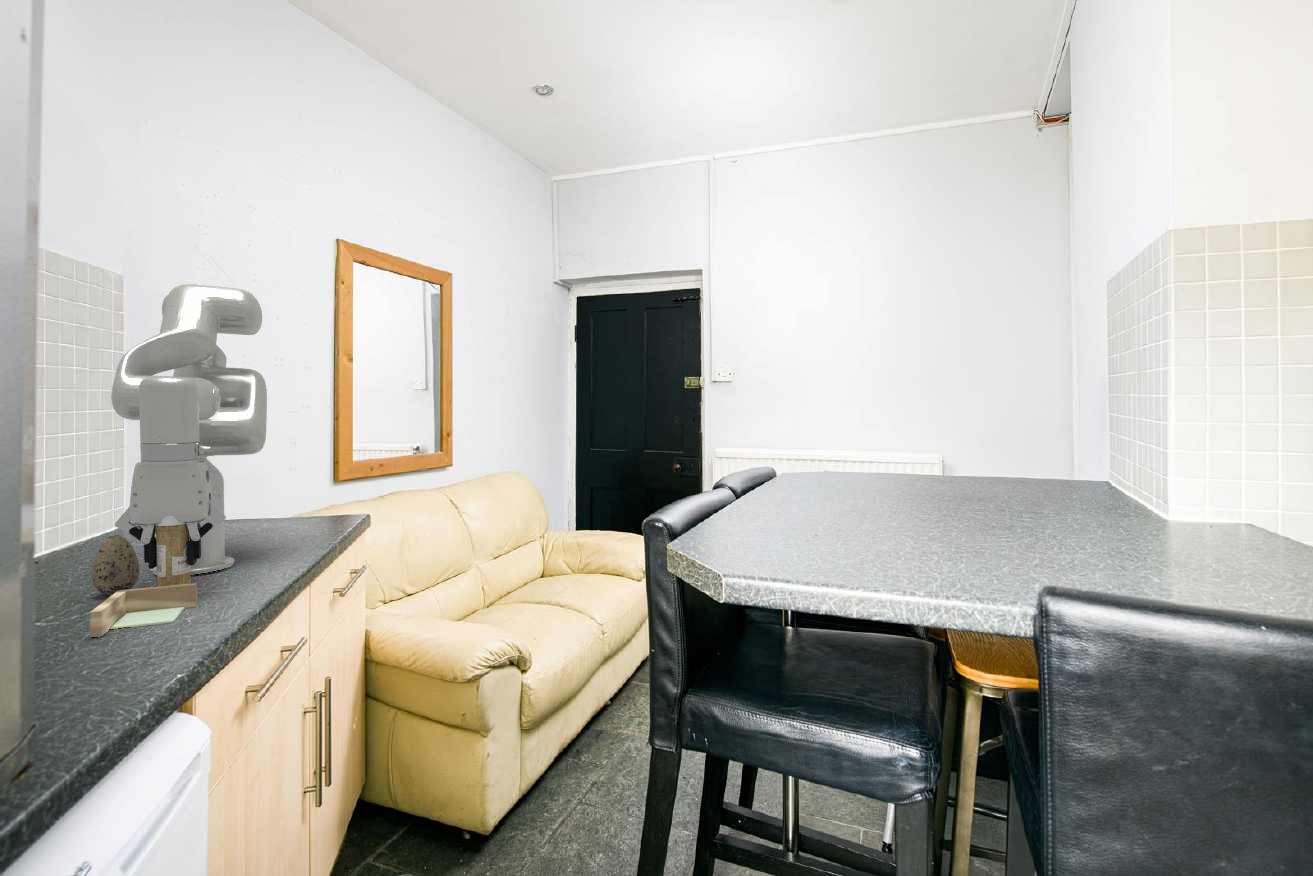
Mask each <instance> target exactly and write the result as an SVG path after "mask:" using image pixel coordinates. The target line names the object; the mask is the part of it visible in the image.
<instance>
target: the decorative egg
mask: <svg viewBox="0 0 1313 876" xmlns="http://www.w3.org/2000/svg"><path fill="white" fill-rule="evenodd" d="M90 575H91V581H92V584H93V586H94V588H95V589H96V590H97V591H99V592H100V593H102V594H104V595H106V596H112V595H113V594H114V593H115V592H117V591H118V590H128V589H133V587H134V586H135V585H136V583H137V581H138V579H139V577H140V564H139V559H138V556H137V554H136V551H135V550H134V547H133V546H132V544H131V543H130V542H129V541H128V539H126V538H125V537H124V536H122V535H119V534H117V535H116V534H114V535H110V536H109V537H107V538H106V539H105V540H103V542H102V543H101V544H100V546H99V547H98V549H97V551H96V554H95V556H94V558H93V562H92V566H91V574H90Z"/></svg>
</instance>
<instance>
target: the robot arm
mask: <svg viewBox="0 0 1313 876" xmlns="http://www.w3.org/2000/svg"><path fill="white" fill-rule="evenodd" d="M261 307H262V306H261V304H260V302H259V300H258V299H257V297H255V296H254V294H253V293H251V292H249V291H248V290H245V289H242V288H241V289H240V288H237V287H236V288H235V287H226V286H225V287H224V286H218V285H217V286H216V285H205V284H197V283H196V284H193V283H191V284H190V283H187V284H181V285H177V286H175V287H173V288H172V289H171V290H170V291H169V293H168V294H167V295H166V296H165V297H164V298H163V300H162V303H161V314H162V320H161V324H160V328H159V329H160V330H159V333H158V334H155V335H153V336H151V337H149V338H147V339H145V340H143V341H142V342H140V343H139V344H137V345H135V346H134V347H132V348H130V349H129V350H128V351H126V353H124V355H122V357H121V358H120V360H119V362H118V365H117V368H116V372H115V376H114V379H113V383H112V387H111V396H110V397H111V405H112V408H113V410H114V411H115V413H116V414H117V415H118V416H120V417H122V419H123V418H124V419H126V420H129V421H130V420H131V421H139V441H140V443H139V445H140V447H139V448H140V461H138V462H136V463H135V466H134V469H133V474H132V479H131V489H130V496H129V497H130V498H129V507H128V508H127V509H126V510H125V511H124V512H123V513H122V515H121V516H120V517H119V518H118V519H117V521H116V522H115V523H114V526H115V527H116V528H117V529H119V530H122V531H124V532H127V533H128V534H129V535H131V536H132V537H134V538H135V539H137V540H139V542H140V544H142V545H143V557H144V558H143V562H144V563H145V564H146V563H147V564H148V569H149V570H150V569H151V570H152V574H154V575H155V576H157V570H156V525H158V524H160V523H161V522H162V520H163V519H164V517H166V516H173V517H175V518H176V520H177V521H178V522H180V523H187V527H188V530H189V541H188V543H187V551H188V565H190V566H191V570H190V575H191V576H195V575H194V574H199V573H205V572H211V573H213V572H212V571H216V570H219V569H222V568H227V569H229V568H228V567H230V566H232V565H233V564H234V565H235V558H234V557H232V556H226V547H225V543H226V542H225V539H226V538H225V535H226V534H225V520H226V519H227V516H226V515H225V484H224V483H225V480H224V479H225V478H224V476H223V474H222V473H221V471H220V470H219V469H218V467H216V466H215V465H214V464H213V463H212V461H210V460H209V459H208V457H214V456H244V455H255V454H257V453H259V452H260V451H262V450H263V448H264V446H265V443H266V440H267V439H266V438H267V420H268V419H267V417H268V415H267V413H268V412H267V411H268V410H267V409H268V390H267V385H266V380H265V378H264V377H263V375H262V373H260V372H259V371H258V370H255V369H250V368H244V367H243V368H242V367H241V368H240V367H227V360H228V359H227V356H226V354H225V353H224V351H223V350H222V349H221V347H219V346H218V345H217V340H218V339H217V338H218V334H224V335H225V334H227V335H238V336H239V335H242V336H253V335H254V336H255V335H256V334H257V333H259V331H260V329H261V327H262V323H263V311H262V308H261ZM171 370H173V374H172V376H167V375H166V376H165V375H158V374H160V373H163V372H167V371H171ZM141 526H143V527H141ZM234 565H233V566H234ZM233 566H232V567H233ZM230 568H231V567H230ZM216 572H217V571H216ZM199 575H200V574H199Z"/></svg>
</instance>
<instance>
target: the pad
mask: <svg viewBox="0 0 1313 876" xmlns="http://www.w3.org/2000/svg"><path fill="white" fill-rule="evenodd" d="M185 609H186V608H185V607H179V608H170V609H161V610H152V611H142V612H133V613H126V614H125V615H124V616H123V617H122V618H121V619H119V620H118V621H117V622H116V623H115V624H114V625H113V626H112V627H111V628H110V629H114V630H119V629H118V628H122V629H124V628H123V627H131V628H137V627H138V628H139V627H146V626H154V625H163V624H171V623H172V624H173V623H174V622H175V621H176V620H177V619H178V618H179V616H180V615H181V614H182V612H183V611H184V610H185Z"/></svg>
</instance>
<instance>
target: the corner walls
mask: <svg viewBox="0 0 1313 876" xmlns="http://www.w3.org/2000/svg"><path fill="white" fill-rule="evenodd" d="M197 605H198V583H197V582H195V583H193V582H192V583H191V582H190V584H181V585H170V586H159V587H158V586H152V587H151V586H150V587H139V588H131V589H128V590H118V591H117V592H115V593H114V594H113V595H109V597H108V598H107V599H105V600H104V601H103V602H101V603H100V604H99V605H97V606H96V607H95V608H94V609H93V610H91V611H89V638H90V637H98V636H102V637H103V635H104V634H105V633H106V632H107V633H108V632H109V631H110V630H109V629H110V628H111V627H112V626H113V625H114V624H115V623H116V622H117V621H118V620H119V619H121V618H122V617H123V616H124V615H125V614H126V613H133V612H142V611H152V610H161V609H170V608H179V607H185V609H190V608H196V607H197ZM107 633H106V634H107ZM106 634H105V635H106ZM105 635H104V636H105ZM98 638H99V637H98Z"/></svg>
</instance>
